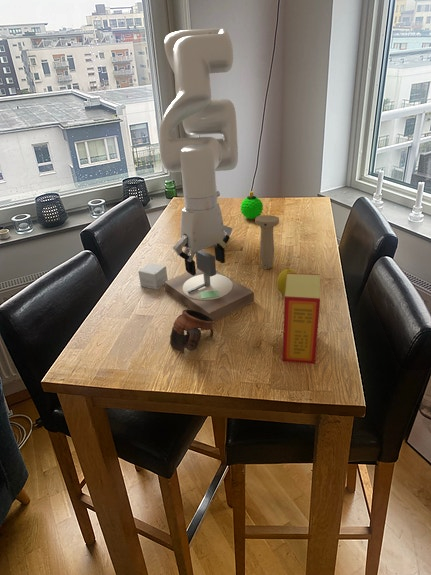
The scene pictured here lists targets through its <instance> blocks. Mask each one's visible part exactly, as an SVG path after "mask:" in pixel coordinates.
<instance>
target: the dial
mask: <svg viewBox="0 0 431 575" xmlns="http://www.w3.org/2000/svg"><path fill="white" fill-rule="evenodd" d="M226 276H227V275H226ZM226 276H223V275H219V274H216V275H214V276H212V277H211V276H210V283H211V285H210V286H208V287H207V286H204V287H202V288H200V289H198V290H195V291H193V292H191V293H188V292H187V291H188V290H190V289H193V288H195V287H197V286H200V285H202V284H204V274H201V275H197V276H194V277H192V278H190V279H188V280H187V281H186V282H185V283H184V285H183V292H184V294H185V295H187V296H188V297H190V298H193V299H197V300H213V299H218V298H221V297H223V296H225V295H227V294H228V293H229V292H230V291H231V290H232V288H233V283H232V281H231V280H230V279H229V278H230V277H229V278H227V277H228V276H227V277H226Z"/></svg>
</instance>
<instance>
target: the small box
mask: <svg viewBox="0 0 431 575" xmlns="http://www.w3.org/2000/svg"><path fill="white" fill-rule="evenodd" d="M137 273H138V276H139V277H138V278H139V282H140V286H141V287H144V288H147V289H152V290H156V291H157V290H159V289H160V288H161V287H162V286H164V285H165V283H164V282H165V281H168V280H169V279H168V272H167V266H166V265H162V264H157V263H152V262H149V263H148V264H146V265H145V266H144V267H142V268H140V269H139V270H138V271H137Z"/></svg>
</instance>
